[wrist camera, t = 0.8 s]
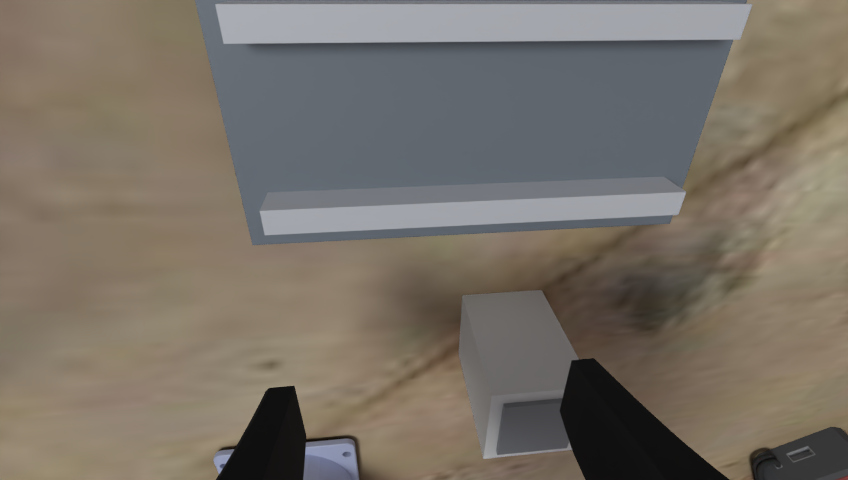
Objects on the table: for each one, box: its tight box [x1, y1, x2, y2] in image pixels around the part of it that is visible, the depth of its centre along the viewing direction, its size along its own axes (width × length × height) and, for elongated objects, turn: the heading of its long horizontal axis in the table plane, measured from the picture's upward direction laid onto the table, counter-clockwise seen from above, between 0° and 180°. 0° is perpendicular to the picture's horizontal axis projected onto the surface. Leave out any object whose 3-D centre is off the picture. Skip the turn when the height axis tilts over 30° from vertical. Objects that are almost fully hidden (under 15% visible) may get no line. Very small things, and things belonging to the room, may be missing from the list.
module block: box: [458, 290, 579, 459], centre depth 20 cm, size 4×4×6 cm
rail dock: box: [195, 0, 752, 245], centre depth 16 cm, size 10×18×2 cm, turn 90°
